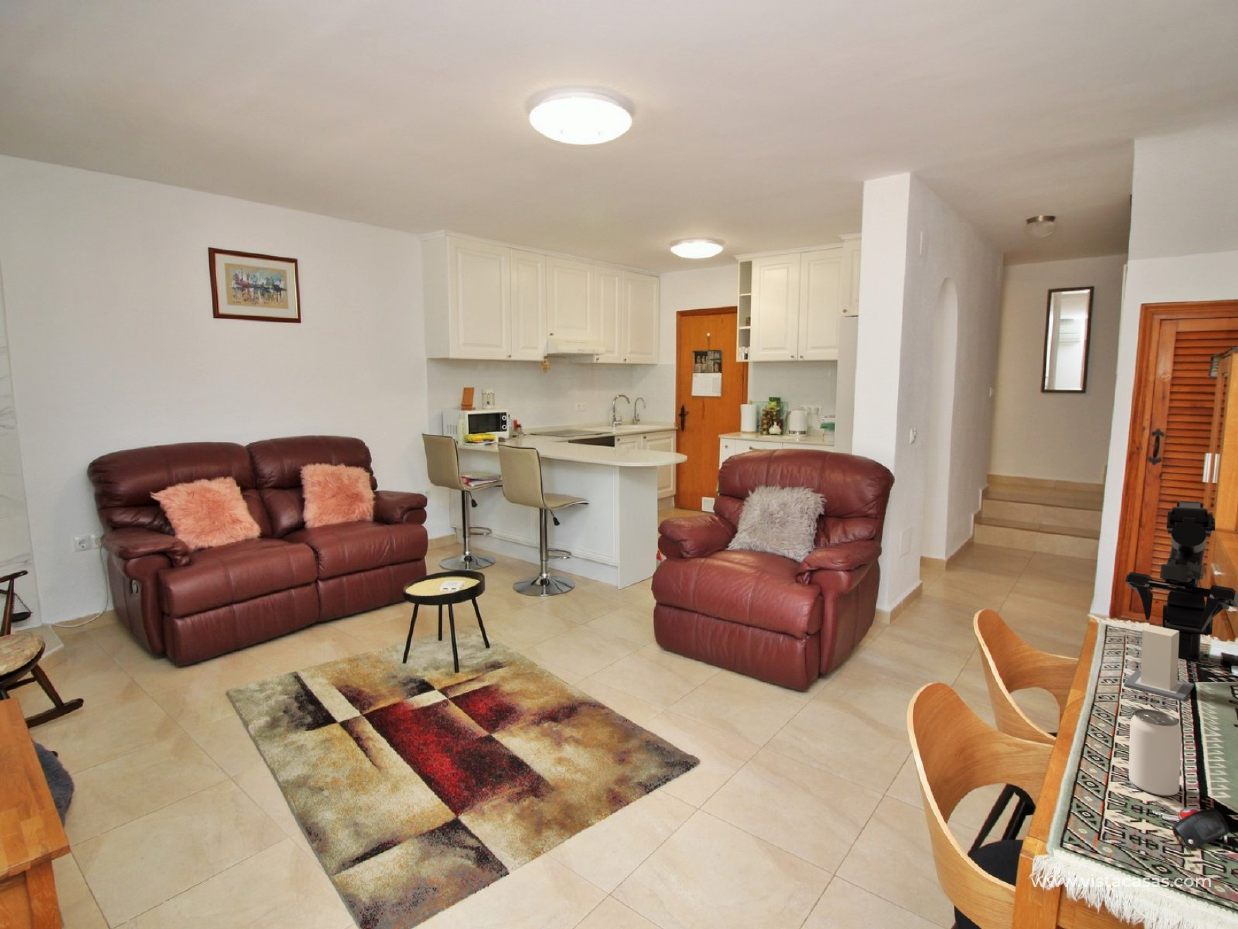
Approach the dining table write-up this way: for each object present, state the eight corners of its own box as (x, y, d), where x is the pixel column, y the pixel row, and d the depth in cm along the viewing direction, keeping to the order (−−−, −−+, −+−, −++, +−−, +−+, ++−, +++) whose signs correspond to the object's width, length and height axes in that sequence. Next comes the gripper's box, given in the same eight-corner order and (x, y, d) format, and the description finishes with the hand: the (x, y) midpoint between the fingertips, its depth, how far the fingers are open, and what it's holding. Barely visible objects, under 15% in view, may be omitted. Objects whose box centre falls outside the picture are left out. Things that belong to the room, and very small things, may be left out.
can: (1159, 774, 109) (1162, 707, 107) (1189, 798, 102) (1192, 727, 101) (1119, 774, 109) (1121, 707, 108) (1146, 797, 103) (1148, 726, 102)
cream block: (1148, 676, 143) (1150, 624, 142) (1177, 683, 139) (1179, 630, 138) (1140, 682, 140) (1142, 630, 139) (1169, 690, 136) (1171, 636, 135)
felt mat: (1136, 672, 147) (1136, 669, 147) (1193, 686, 139) (1193, 683, 139) (1124, 686, 141) (1124, 683, 141) (1183, 701, 133) (1183, 698, 133)
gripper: (1125, 541, 148) (1112, 605, 145) (1236, 555, 133) (1223, 627, 130) (1138, 556, 154) (1125, 618, 151) (1244, 571, 139) (1232, 640, 136)
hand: (1173, 625), depth 142 cm, fingers open, 9 cm apart
